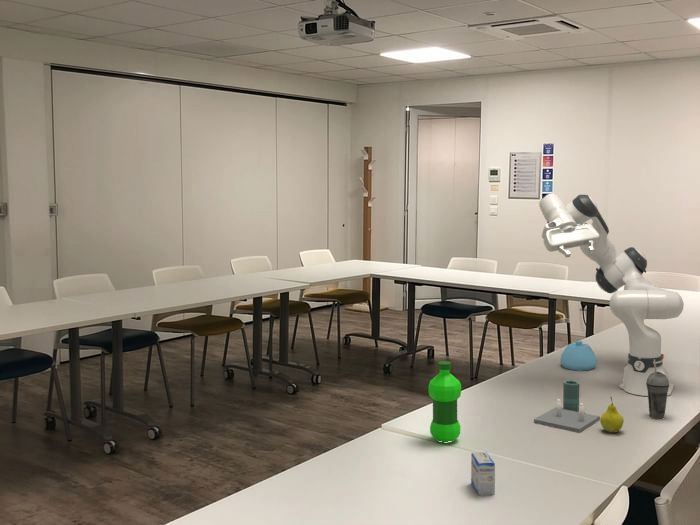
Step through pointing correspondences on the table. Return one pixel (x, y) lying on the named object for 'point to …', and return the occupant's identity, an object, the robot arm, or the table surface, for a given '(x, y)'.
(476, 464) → the medicine box
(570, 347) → the sugar bowl
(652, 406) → the beverage cup
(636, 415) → the table surface
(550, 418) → the pin board
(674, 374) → the table surface
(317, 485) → the table surface
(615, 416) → the fruit
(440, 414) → the plastic bottle
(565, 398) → the sleeve
